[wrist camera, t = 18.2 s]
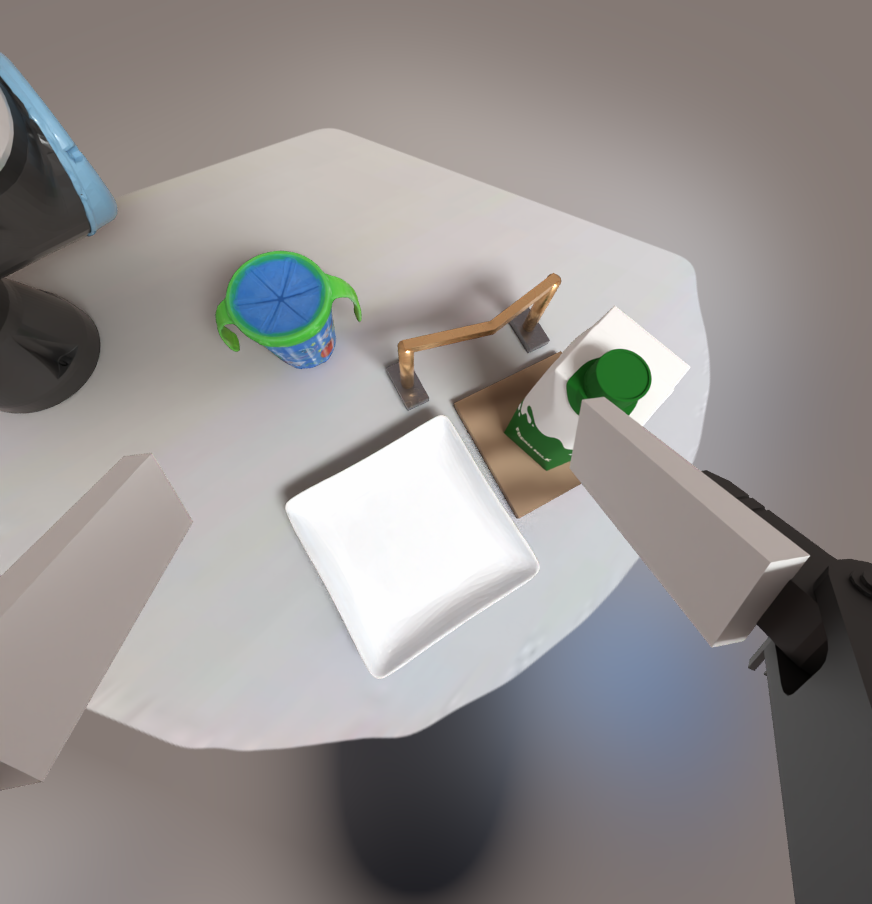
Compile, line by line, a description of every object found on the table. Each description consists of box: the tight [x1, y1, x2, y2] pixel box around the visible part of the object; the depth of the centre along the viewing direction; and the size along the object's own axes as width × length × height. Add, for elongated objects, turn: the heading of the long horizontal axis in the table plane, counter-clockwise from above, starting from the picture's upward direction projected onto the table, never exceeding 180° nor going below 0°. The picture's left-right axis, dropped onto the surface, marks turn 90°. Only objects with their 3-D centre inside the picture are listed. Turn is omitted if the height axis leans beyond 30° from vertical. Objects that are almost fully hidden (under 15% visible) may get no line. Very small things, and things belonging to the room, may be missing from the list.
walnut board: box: [454, 351, 581, 518], centre depth 45 cm, size 16×16×1 cm
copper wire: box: [386, 273, 561, 411], centre depth 42 cm, size 6×21×10 cm, turn 118°
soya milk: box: [504, 306, 690, 471], centre depth 35 cm, size 9×9×20 cm
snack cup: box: [215, 251, 362, 369], centre depth 42 cm, size 16×10×10 cm
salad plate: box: [285, 415, 540, 679], centre depth 41 cm, size 21×21×3 cm
